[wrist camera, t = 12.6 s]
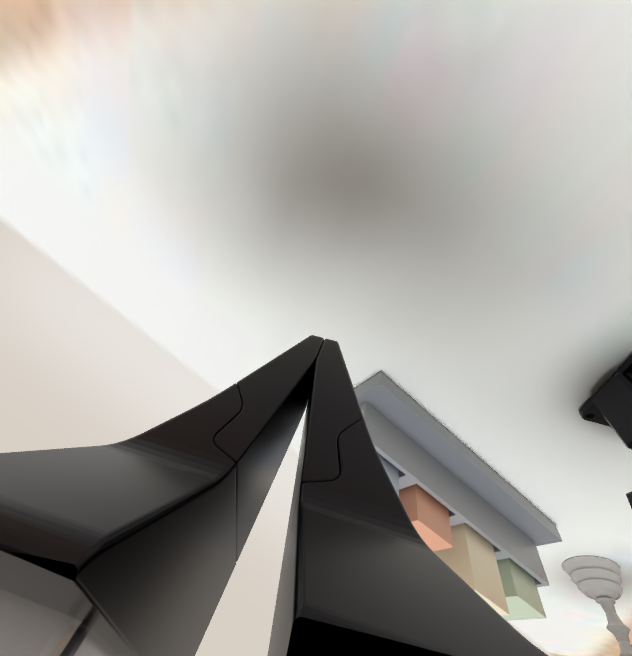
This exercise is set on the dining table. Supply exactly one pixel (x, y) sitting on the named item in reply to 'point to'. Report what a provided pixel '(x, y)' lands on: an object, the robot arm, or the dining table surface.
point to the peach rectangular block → (427, 517)
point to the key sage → (519, 592)
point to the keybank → (454, 475)
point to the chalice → (601, 591)
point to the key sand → (476, 565)
